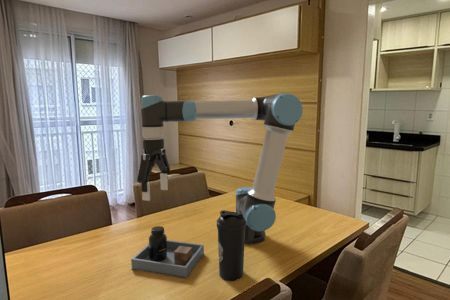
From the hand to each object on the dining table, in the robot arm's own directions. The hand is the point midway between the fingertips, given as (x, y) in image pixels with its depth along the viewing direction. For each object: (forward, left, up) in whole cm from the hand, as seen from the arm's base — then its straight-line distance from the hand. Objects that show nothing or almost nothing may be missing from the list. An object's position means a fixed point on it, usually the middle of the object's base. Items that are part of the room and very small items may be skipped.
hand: (155, 194), depth 112 cm
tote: (-5, 0, -26) cm, 27 cm away
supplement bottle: (0, 0, -26) cm, 26 cm away
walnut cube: (-11, 0, -26) cm, 28 cm away
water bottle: (-30, +2, -26) cm, 40 cm away
